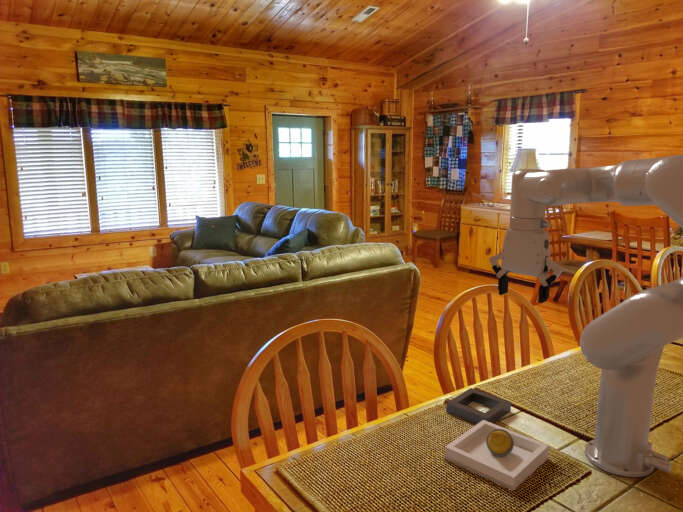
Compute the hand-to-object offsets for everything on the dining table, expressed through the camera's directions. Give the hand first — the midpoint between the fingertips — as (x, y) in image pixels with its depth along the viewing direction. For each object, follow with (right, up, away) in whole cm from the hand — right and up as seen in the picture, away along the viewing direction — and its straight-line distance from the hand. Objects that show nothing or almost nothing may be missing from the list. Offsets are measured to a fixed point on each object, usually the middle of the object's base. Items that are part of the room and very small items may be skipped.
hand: (522, 297), depth 124 cm
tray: (-10, -32, -14) cm, 37 cm away
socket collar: (-9, -28, +5) cm, 30 cm away
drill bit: (-10, -31, -15) cm, 36 cm away
